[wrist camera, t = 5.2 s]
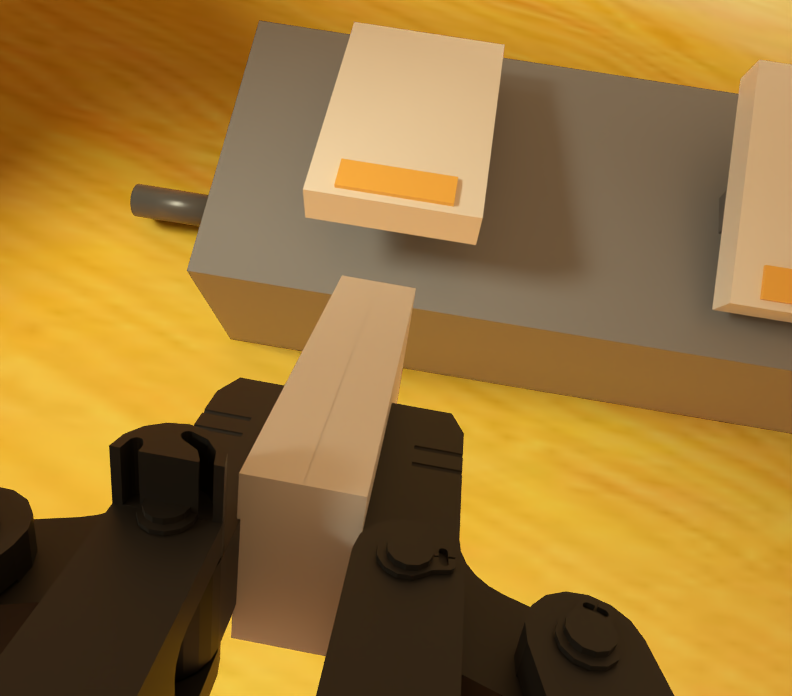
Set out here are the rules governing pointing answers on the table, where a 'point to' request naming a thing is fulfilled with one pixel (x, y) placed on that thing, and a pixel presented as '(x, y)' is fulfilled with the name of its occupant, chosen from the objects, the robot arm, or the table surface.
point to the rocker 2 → (759, 200)
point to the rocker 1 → (407, 134)
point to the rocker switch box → (505, 240)
